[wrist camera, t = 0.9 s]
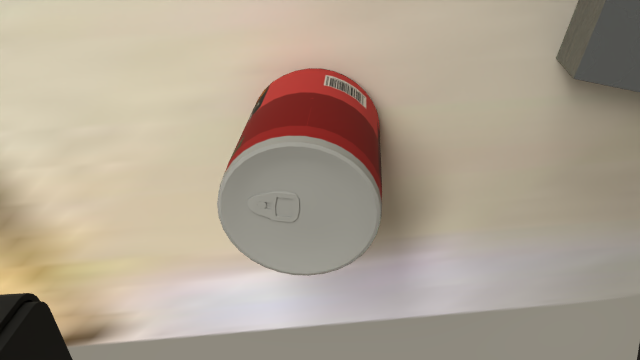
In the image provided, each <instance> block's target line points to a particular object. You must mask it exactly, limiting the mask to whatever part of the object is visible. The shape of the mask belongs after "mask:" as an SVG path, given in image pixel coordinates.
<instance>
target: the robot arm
mask: <svg viewBox="0 0 640 360" xmlns="http://www.w3.org/2000/svg"><path fill="white" fill-rule="evenodd" d="M0 360H72V358H71V356H70V353H69V351H68V349H67V346H66V344H65V342H64V340H63V337H62V335H61V333H60V331H59V329H58V326H57V324H56V322H55V320H54V317H53V315H52V313H51V311H50V308H49V307H48V305H47V304H46V303H45V302H41V301H40V300H39V299H38V297H37V296H35V295H34V294H30V293H23V294H6V295H0ZM637 360H640V344H639V350H638V357H637Z"/></svg>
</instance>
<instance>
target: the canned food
mask: <svg viewBox="0 0 640 360" xmlns="http://www.w3.org/2000/svg"><path fill="white" fill-rule="evenodd" d="M217 205H218V214H219V219H220V221H221V224H222V227H223V230H224V231H225V233H226V234H227V236H228V238H229V239H230V241H231V242H232V243H233V244H234V245H235V246H236V247H237V248H238V250H239V251H240V252H242V253H243V254H244V255H246V256H247V257H248V258H250V259H251V260H252V261H254V262H256V263H258V264H260V265H262V266H264V267H266V268H269V269H272V270H275V271H277V272H281V273H287V274H292V275H316V274H324V273H328V272H331V271H335V270H338V269H340V268H342V267H344V266H346V265H348V264H350V263H352V262H353V261H355V260H356V259H357V258H359V257H360V256H361V255H362V254H363V253H364V252H365V251H366V250H367V249H368V248H369V246H370V245H371V243H372V242H373V240H374V238H375V236H376V234H377V231H378V228H379V224H380V219H381V212H382V179H381V153H380V127H379V119H378V114H377V111H376V108H375V106H374V104H373V102H372V100H371V99H370V97H369V96H368V95H367V93H366V92H365V91H364V90H363V89H362V88H361V87H360V86H359V85H357V84H356V83H355V82H354V81H352V80H351V79H349V78H347V77H346V76H344V75H342V74H339V73H337V72H334V71H330V70H325V69H304V70H298V71H294V72H292V73H289V74H287V75H284V76H282V77H280V78H279V79H277V80H275V81H274V82H272V83H271V84H270V85H269V86H268V87H267V88H266V89H265V90H264V91H263V93H262V94H261V96H260V97H259V99H258V101H257V103H256V105H255V107H254V109H253V111H252V113H251V116H250V118H249V120H248V122H247V124H246V126H245V129H244V131H243V133H242V135H241V137H240V139H239V142H238V144H237V146H236V148H235V150H234V152H233V154H232V157H231V159H230V161H229V163H228V166H227V169H226V171H225V173H224V176H223V179H222V181H221V184H220V189H219V194H218V203H217Z"/></svg>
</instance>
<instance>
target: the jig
mask: <svg viewBox="0 0 640 360" xmlns="http://www.w3.org/2000/svg"><path fill="white" fill-rule="evenodd" d="M556 59H557V60H558V61H559V62H560V63H561V65H562V66H563V67H564V68H565V69H566V70H567V72H568V73H569V74H570V75H571V76H572V77H573V79H578V80H583V81H588V82H593V83H597V84H602V85H607V86H612V87H617V88H622V89H627V90H631V91H636V92H640V0H579V1H578V4H577V6H576V9H575V12H574V14H573V17H572V19H571V22H570V24H569V27H568V29H567V32H566V35H565V37H564V40H563V42H562V45H561V47H560V50H559V52H558V55H557V57H556Z"/></svg>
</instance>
